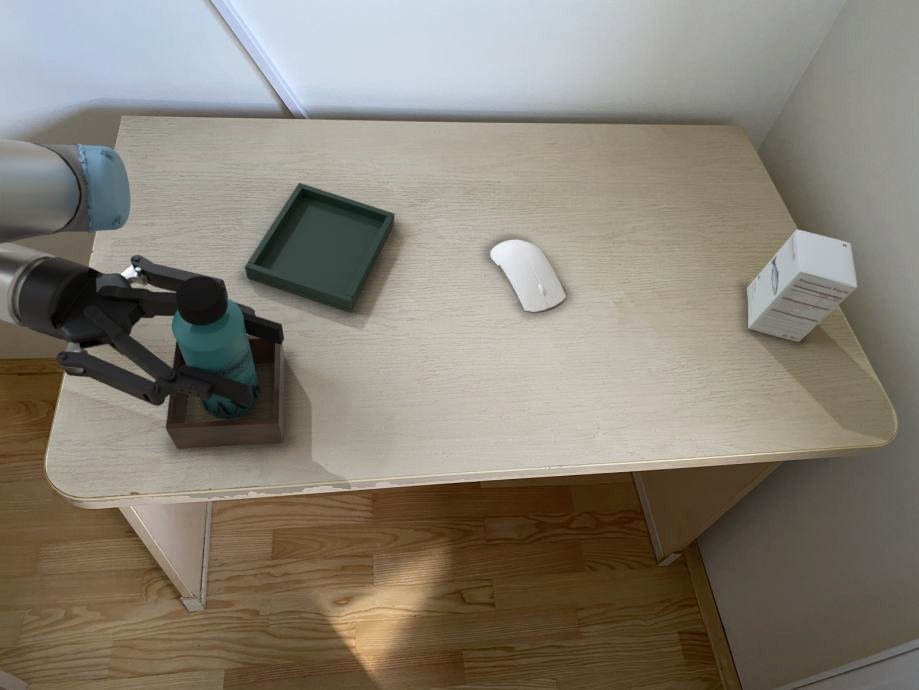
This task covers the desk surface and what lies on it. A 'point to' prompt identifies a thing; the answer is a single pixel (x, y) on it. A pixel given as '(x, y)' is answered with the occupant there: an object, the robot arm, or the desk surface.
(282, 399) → the crate
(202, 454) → the desk surface
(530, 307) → the computer mouse
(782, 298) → the white packaging box
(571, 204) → the desk surface
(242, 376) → the beverage bottle
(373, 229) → the tray
